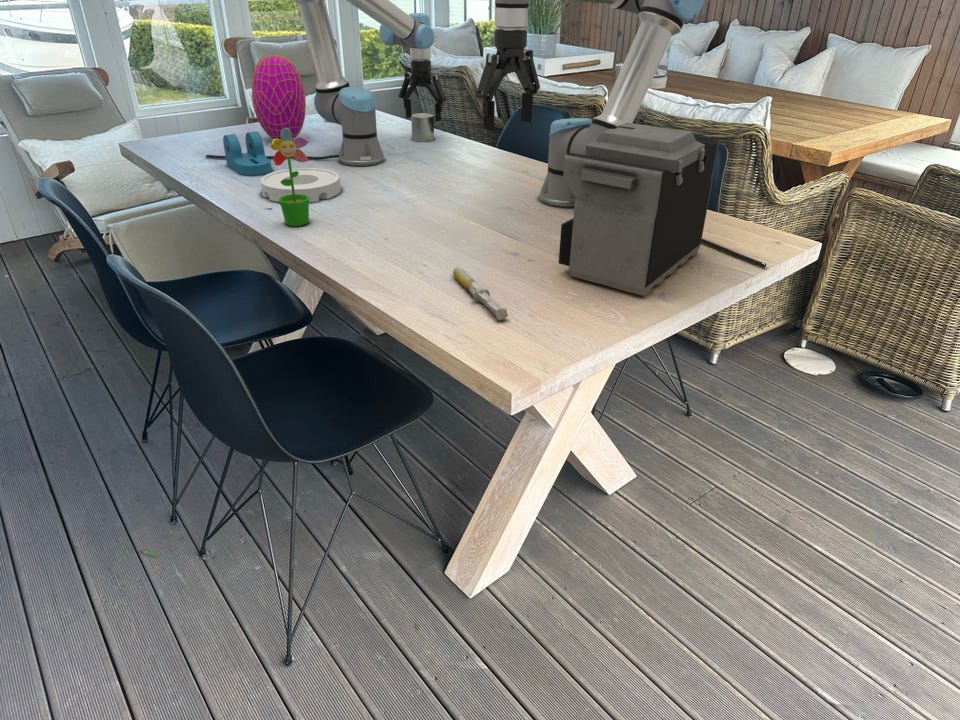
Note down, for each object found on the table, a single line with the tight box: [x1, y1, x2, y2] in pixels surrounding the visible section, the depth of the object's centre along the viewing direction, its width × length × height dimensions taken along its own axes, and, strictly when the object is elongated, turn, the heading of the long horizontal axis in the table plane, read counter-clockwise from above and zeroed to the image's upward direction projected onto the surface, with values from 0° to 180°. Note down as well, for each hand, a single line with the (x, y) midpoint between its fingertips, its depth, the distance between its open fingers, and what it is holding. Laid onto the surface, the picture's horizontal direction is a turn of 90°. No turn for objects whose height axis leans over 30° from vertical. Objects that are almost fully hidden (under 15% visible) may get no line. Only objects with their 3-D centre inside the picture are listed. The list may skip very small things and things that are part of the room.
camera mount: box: [222, 131, 272, 176], centre depth 226 cm, size 18×10×10 cm, turn 35°
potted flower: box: [270, 128, 310, 227], centre depth 177 cm, size 9×8×25 cm
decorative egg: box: [251, 54, 307, 141], centre depth 257 cm, size 19×19×30 cm
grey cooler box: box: [558, 122, 720, 297], centre depth 154 cm, size 37×22×30 cm, turn 144°
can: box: [410, 112, 435, 143], centre depth 266 cm, size 9×9×9 cm
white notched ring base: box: [260, 167, 342, 203], centre depth 207 cm, size 23×23×4 cm
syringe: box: [452, 266, 509, 321], centre depth 145 cm, size 25×4×3 cm, turn 21°
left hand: (423, 119), depth 265 cm, fingers open, 13 cm apart
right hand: (507, 125), depth 166 cm, fingers open, 13 cm apart
